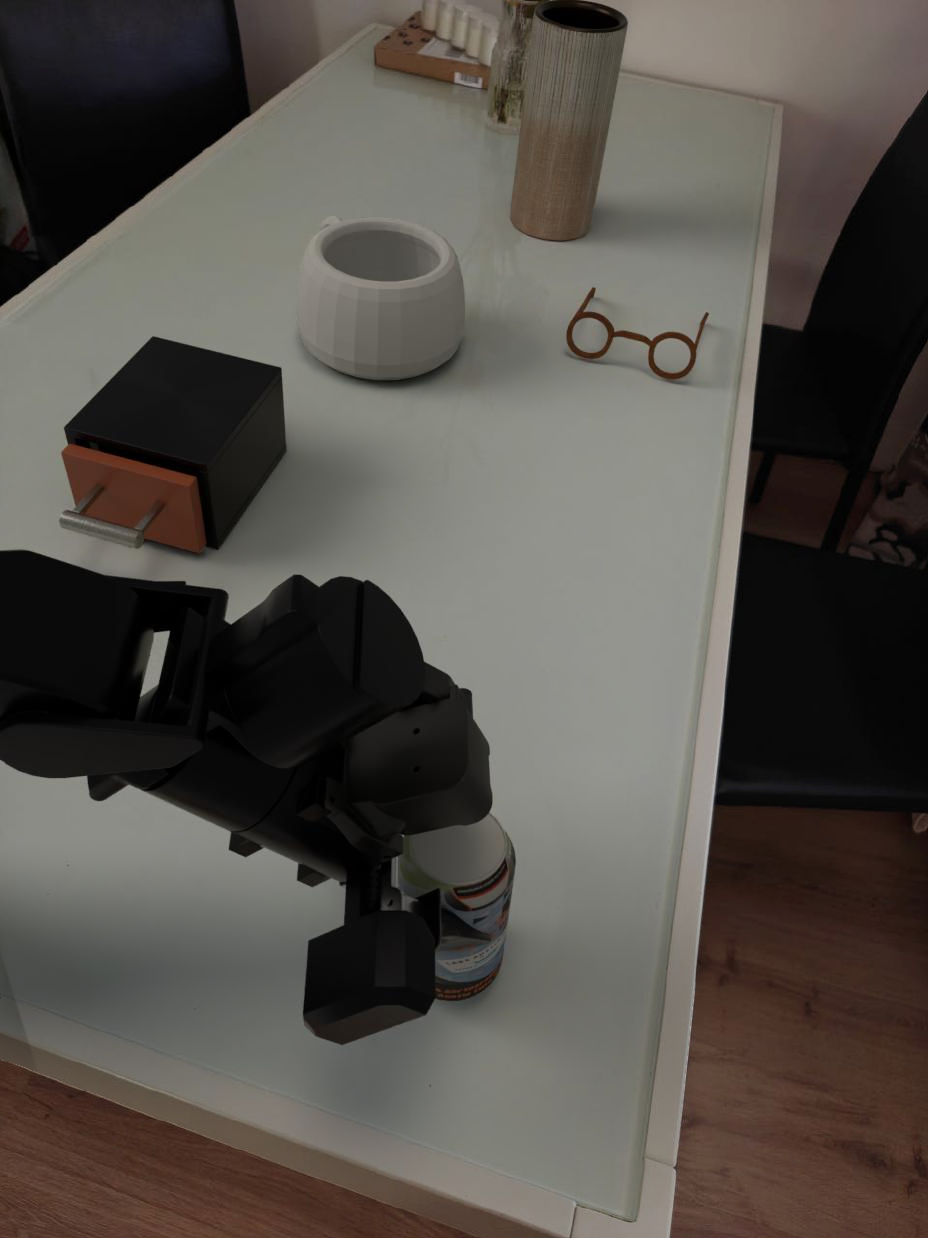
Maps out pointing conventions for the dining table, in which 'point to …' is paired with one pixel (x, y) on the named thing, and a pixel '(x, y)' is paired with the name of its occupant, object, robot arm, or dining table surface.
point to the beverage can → (464, 896)
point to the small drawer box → (194, 422)
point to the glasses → (633, 336)
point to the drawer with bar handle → (133, 498)
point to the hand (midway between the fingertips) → (482, 887)
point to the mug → (380, 298)
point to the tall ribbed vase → (566, 116)
